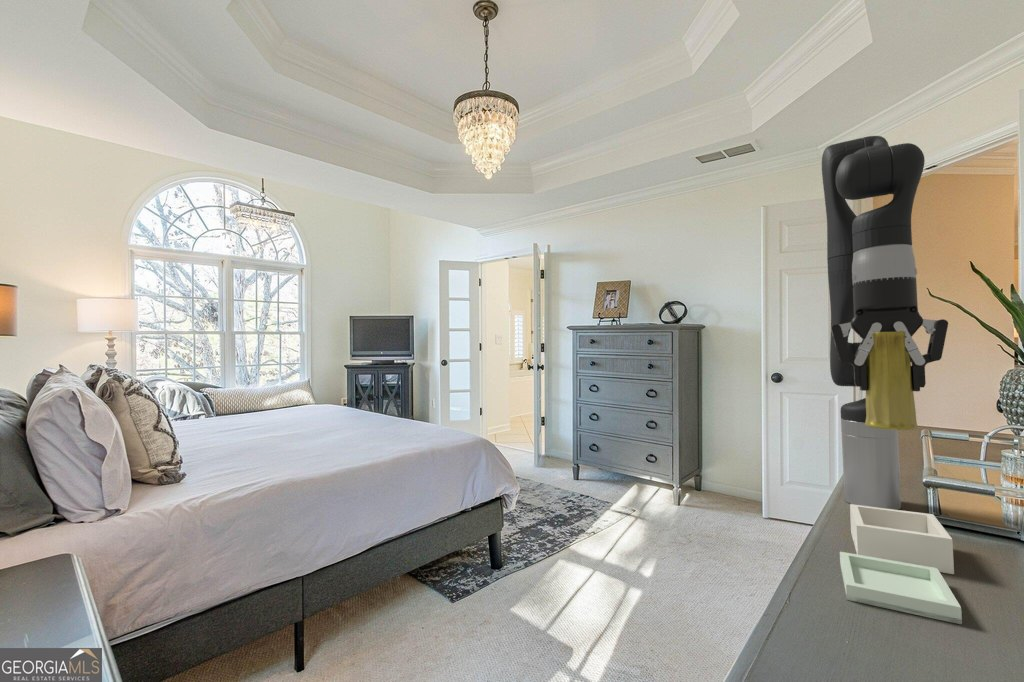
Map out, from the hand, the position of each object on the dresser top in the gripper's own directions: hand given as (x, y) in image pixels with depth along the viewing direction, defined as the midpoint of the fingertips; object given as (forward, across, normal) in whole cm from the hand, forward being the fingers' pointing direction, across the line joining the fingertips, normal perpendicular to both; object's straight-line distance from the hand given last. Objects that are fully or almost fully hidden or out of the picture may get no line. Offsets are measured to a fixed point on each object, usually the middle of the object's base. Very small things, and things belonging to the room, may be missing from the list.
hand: (888, 390), depth 69 cm
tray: (+26, +2, +9) cm, 28 cm away
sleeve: (+26, -1, -6) cm, 27 cm away
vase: (+6, 0, 0) cm, 6 cm away
